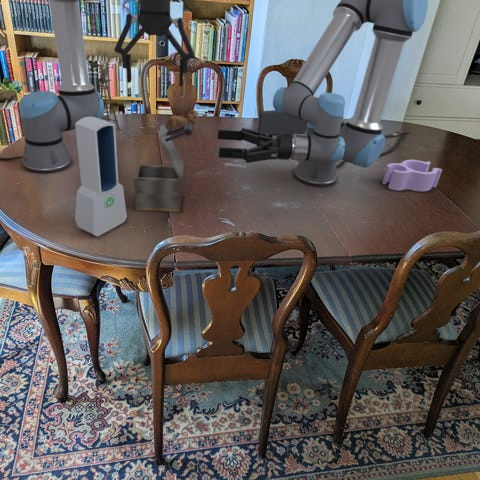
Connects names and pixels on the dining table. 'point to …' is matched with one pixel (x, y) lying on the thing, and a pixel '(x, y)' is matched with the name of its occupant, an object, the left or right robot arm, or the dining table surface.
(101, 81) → the miniature windmill
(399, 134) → the sword
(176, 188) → the chest
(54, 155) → the left robot arm
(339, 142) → the right robot arm
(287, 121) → the handheld gaming console
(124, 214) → the electronic device
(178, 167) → the lid
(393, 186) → the clip
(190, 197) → the dining table surface
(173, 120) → the lion figurine
